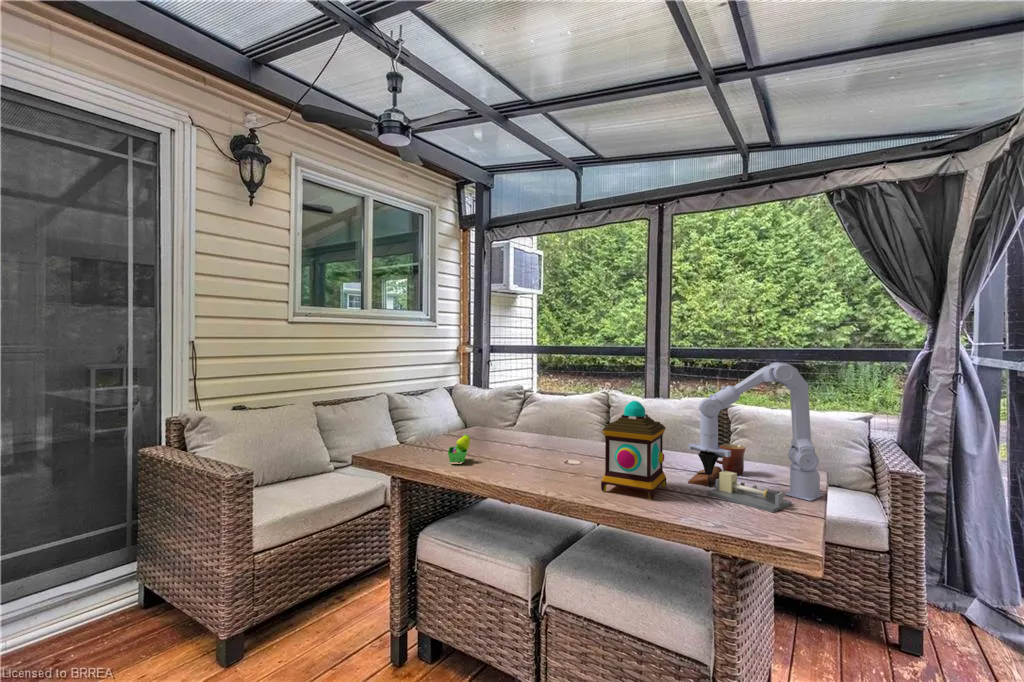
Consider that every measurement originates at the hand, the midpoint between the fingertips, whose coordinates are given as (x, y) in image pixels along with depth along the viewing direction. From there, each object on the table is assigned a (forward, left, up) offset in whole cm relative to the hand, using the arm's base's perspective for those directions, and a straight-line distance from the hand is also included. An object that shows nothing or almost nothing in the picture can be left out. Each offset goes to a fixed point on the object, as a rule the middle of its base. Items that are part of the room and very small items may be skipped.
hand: (708, 474), depth 163 cm
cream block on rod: (0, +7, -4) cm, 8 cm away
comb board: (0, +13, -5) cm, 14 cm away
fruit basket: (+50, -81, -5) cm, 95 cm away
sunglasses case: (-10, -7, -6) cm, 13 cm away
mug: (-25, -7, -5) cm, 26 cm away
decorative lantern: (+21, -15, -5) cm, 26 cm away
